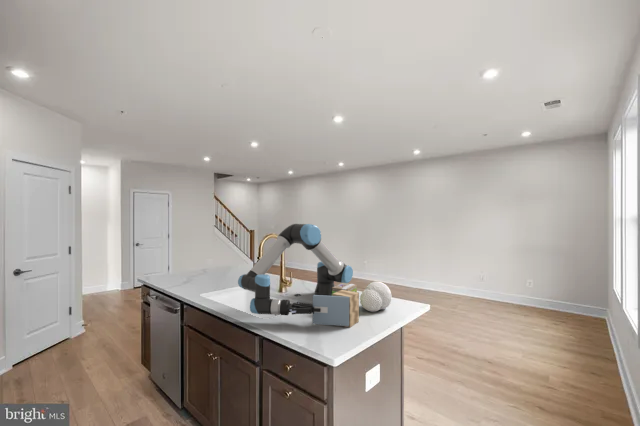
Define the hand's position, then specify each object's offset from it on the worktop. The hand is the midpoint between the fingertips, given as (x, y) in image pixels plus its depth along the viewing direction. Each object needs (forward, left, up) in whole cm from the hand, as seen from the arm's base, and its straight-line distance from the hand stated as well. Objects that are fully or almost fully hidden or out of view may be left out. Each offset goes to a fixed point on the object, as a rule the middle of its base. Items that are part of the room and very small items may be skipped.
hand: (327, 309), depth 149 cm
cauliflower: (-31, +26, -9) cm, 41 cm away
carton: (-7, +9, -8) cm, 14 cm away
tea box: (-25, +7, -9) cm, 27 cm away
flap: (0, +2, -7) cm, 7 cm away
